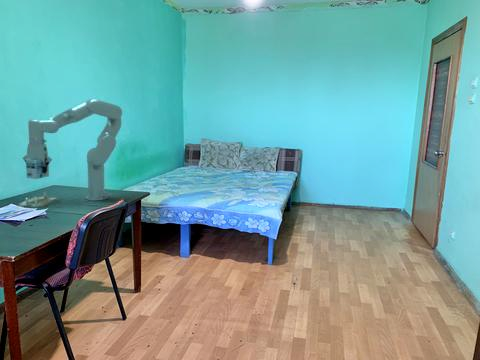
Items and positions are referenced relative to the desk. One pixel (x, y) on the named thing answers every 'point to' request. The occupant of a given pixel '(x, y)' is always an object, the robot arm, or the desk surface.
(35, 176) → the light bulb box
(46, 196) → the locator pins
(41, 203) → the locator board
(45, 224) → the desk surface
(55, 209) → the desk surface
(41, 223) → the desk surface
